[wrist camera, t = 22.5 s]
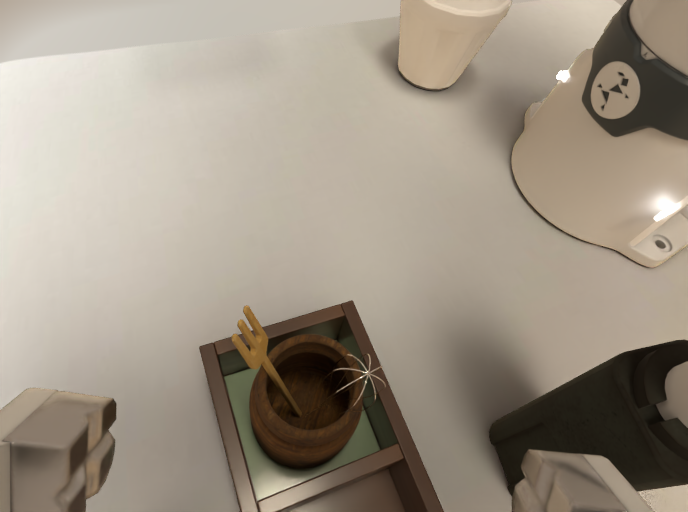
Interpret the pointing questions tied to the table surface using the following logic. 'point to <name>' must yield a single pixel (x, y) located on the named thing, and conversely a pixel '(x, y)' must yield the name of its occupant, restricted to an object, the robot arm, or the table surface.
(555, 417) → the candle
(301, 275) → the table surface
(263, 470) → the wooden divided box
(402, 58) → the cup
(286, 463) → the utensil holder
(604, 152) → the robot arm
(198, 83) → the table surface
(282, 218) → the table surface
